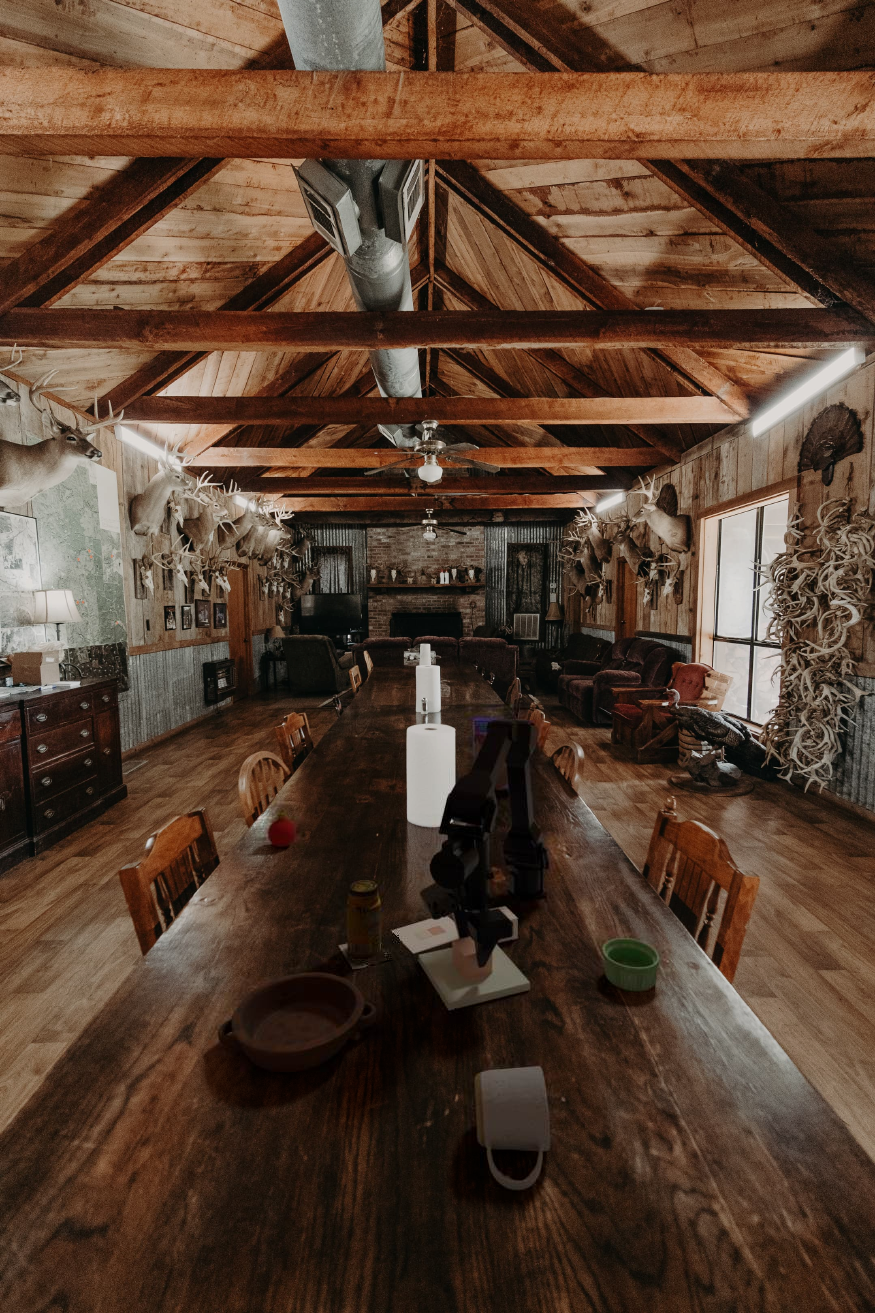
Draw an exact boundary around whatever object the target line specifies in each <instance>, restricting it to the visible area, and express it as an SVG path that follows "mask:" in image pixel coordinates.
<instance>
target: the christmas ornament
mask: <svg viewBox="0 0 875 1313" xmlns="http://www.w3.org/2000/svg"><path fill="white" fill-rule="evenodd" d="M296 836H297V828H296V826H295V823H293V821H291V820H290V819H288V818H287V816H286V812H284V809H283V807H282V808H280V810H279V812H278V813H277V819H276V820H275V821H273V822H272V823H271V824H270V825H269V828H268V830H267V837H268V840H269V842H270V844H272V845H273V846H275V847H278V848H285V847H287V846H290V844H292V843H293V842H294V840H295V838H296Z"/></svg>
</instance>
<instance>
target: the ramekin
mask: <svg viewBox="0 0 875 1313" xmlns="http://www.w3.org/2000/svg"><path fill="white" fill-rule="evenodd" d="M602 956H603V963H604V964H603V965H604V974H605V977H606V978H607V980H608V981H609V982H610V983H611V984H612V985H614V986H615V987H617V988H619V989H621V990H625V991H628V992H645V991H647V990H650V989H652V988H653V987H654V986H655V984H656V982H657V973H658V966H659V963H660V955H659V952H658V951H657V950H656V949H655V948H654V947H653V946H651V945H650V944H648V943H647V942H644V941H641V940H640V939H639V940H638V939H634V938H627V937H619V938H613V939H610V940H607V941H606V942H604V944H603V946H602Z"/></svg>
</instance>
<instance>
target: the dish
mask: <svg viewBox="0 0 875 1313" xmlns="http://www.w3.org/2000/svg"><path fill="white" fill-rule="evenodd" d="M376 1018H377V1009H376V1007H375V1005H373V1004H372V1003H370V1002H367V1001H365V997H364V995H363V993H362V992H361V991H360V990H359V988H358V987H356V985H355V984H354V983H352V982H351V981H349V980H347V979H346V978H344V977H341V976H338V975H335V974H332V973H327V972H326V973H325V972H302V973H301V972H300V973H295V974H289V975H286V976H282V977H278V978H275V979H272V980H270V981H268V982H265V983H264V984H261V985H260V986H257V987H256V988H255V989H253V990H251V991H250V992H249V993H247V994H246V995H245V997H243V999H241V1001H240V1002H239V1004H238V1005H237V1007H236V1009H234V1011H233V1014H232V1015H231V1018H230V1019H227V1021H225V1022H223V1023H222V1024H221V1025H220V1026H219V1028H218V1030H217V1036H218V1042H219V1044H220V1045H221V1047H222V1048H224V1049H225V1050H232V1051H236V1052H237V1051H238V1052H243V1053H244V1054H245V1055H246V1056H247V1058H249V1060H251V1062H252V1063H254V1064H255V1065H256V1066H258V1067H260V1068H262V1069H263V1070H264V1069H265V1070H267V1071H271V1072H275V1073H276V1072H277V1073H295V1072H301V1071H306V1070H309V1069H313V1068H315V1067H318V1066H320V1065H321V1064H324V1063H325V1062H327V1061H329V1060H330V1059H331V1058H332V1057H333V1056H336V1054H337V1053H339V1052H340V1051H341V1049H342V1048H343V1047H344V1046H345V1045H346V1043H347V1042H348V1041H349V1039H350V1038H351V1036H352V1035H353V1034H354V1033H356V1032H359V1031H362V1030H365V1029H368V1028H370V1027H372V1026H373V1025H374V1023H375V1022H376V1020H377V1019H376ZM230 1033H233V1035H232V1036H231V1035H228V1034H230Z"/></svg>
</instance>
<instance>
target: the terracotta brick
mask: <svg viewBox="0 0 875 1313" xmlns="http://www.w3.org/2000/svg"><path fill="white" fill-rule="evenodd" d="M451 948H452V955H453V965H454V966H455V967H456V969H457V970H458V971H459V973H460V974H461V976H462V977H463V978H464V980H466V979H470V978H474V977H478V976H482V975H486V974H490V973H492V954H491V956H490V958H489V960H488V962H487V964H486V965H485V967H482V968H479V967H478V963H477V958H476V951H475V943H474V940H473V939H472V938H471V937H470V936H469V937H466V938H461V939H457V940H452V947H451Z"/></svg>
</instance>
